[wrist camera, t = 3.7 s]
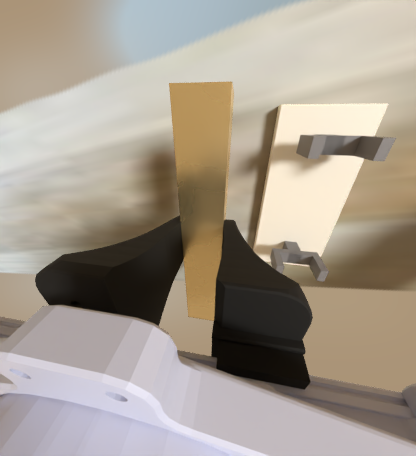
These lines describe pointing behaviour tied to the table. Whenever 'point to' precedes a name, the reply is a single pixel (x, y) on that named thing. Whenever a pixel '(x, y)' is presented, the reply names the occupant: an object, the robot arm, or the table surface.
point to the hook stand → (313, 178)
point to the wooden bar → (202, 183)
